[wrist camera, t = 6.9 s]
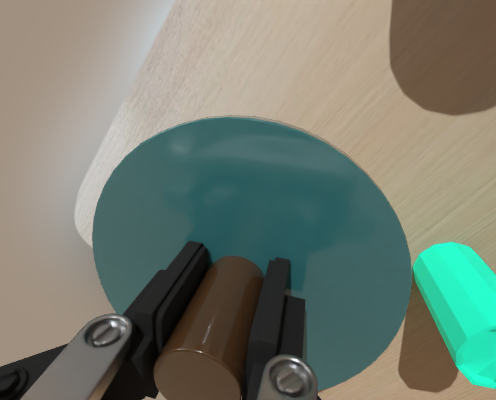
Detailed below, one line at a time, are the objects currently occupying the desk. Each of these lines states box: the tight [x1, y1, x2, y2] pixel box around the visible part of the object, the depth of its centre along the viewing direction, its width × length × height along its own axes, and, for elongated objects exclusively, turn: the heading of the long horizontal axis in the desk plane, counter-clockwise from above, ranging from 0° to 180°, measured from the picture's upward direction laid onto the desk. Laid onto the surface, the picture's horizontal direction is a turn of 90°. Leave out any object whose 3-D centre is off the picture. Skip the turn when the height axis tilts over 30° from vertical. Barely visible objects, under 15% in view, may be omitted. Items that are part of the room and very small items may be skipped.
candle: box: [413, 242, 496, 389], centre depth 24 cm, size 6×6×12 cm
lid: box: [92, 115, 412, 400], centre depth 10 cm, size 12×12×6 cm
